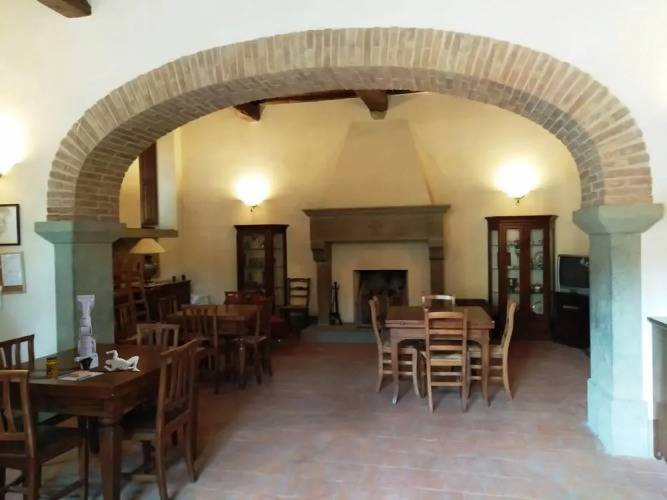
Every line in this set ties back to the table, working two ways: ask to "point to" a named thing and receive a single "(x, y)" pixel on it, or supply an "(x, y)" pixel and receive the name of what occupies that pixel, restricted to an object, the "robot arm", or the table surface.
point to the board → (68, 377)
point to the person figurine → (121, 362)
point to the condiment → (52, 367)
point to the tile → (79, 373)
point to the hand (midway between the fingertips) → (86, 371)
